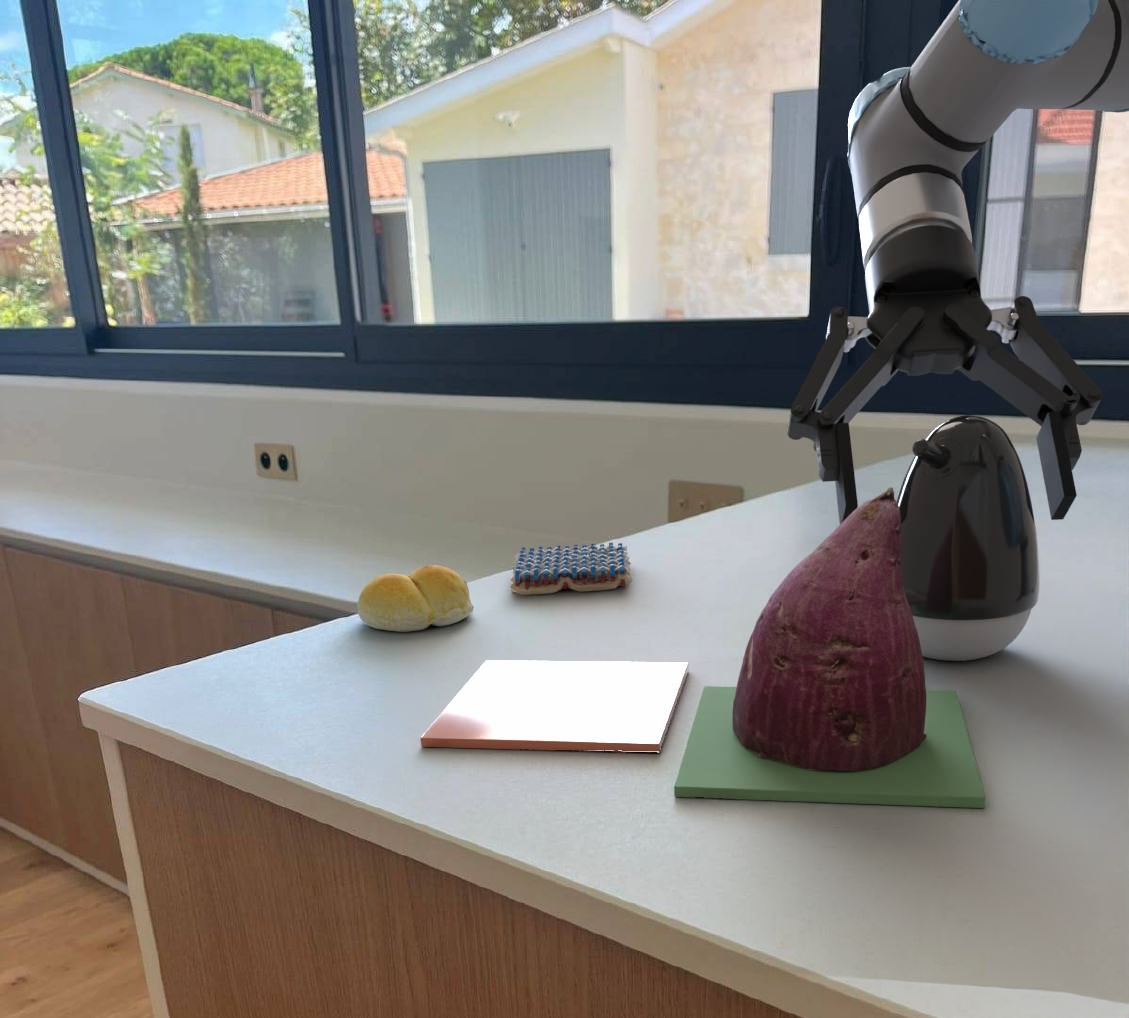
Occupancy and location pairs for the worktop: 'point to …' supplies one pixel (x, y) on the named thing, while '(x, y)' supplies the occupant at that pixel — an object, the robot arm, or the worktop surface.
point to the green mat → (914, 779)
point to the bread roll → (415, 600)
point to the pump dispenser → (967, 540)
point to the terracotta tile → (561, 706)
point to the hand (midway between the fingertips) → (955, 513)
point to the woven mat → (570, 569)
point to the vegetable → (837, 655)
